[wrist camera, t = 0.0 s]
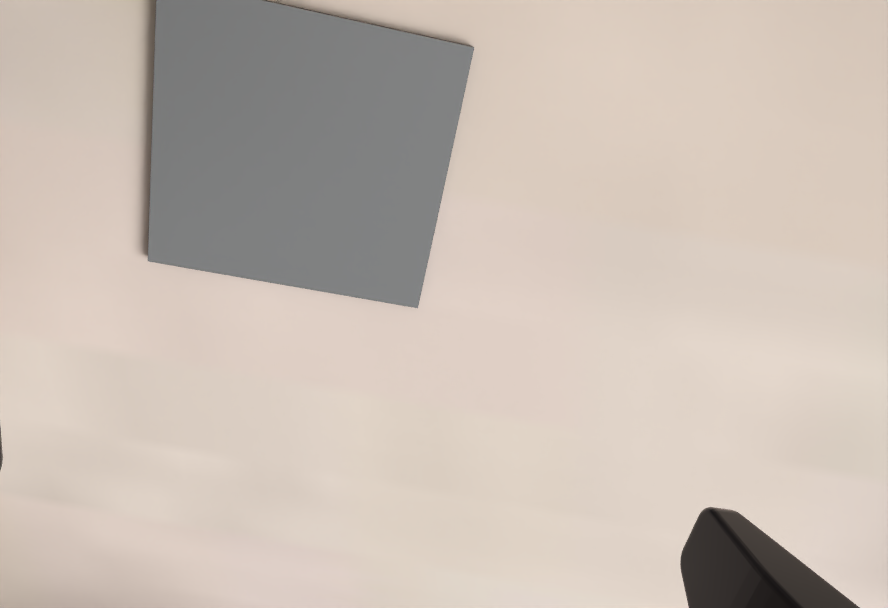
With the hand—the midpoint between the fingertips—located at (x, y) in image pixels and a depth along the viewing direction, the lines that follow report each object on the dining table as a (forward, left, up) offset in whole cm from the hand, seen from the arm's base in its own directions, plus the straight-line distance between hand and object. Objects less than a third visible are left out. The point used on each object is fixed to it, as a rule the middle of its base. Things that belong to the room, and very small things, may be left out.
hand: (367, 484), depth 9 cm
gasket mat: (0, +3, -15) cm, 15 cm away
